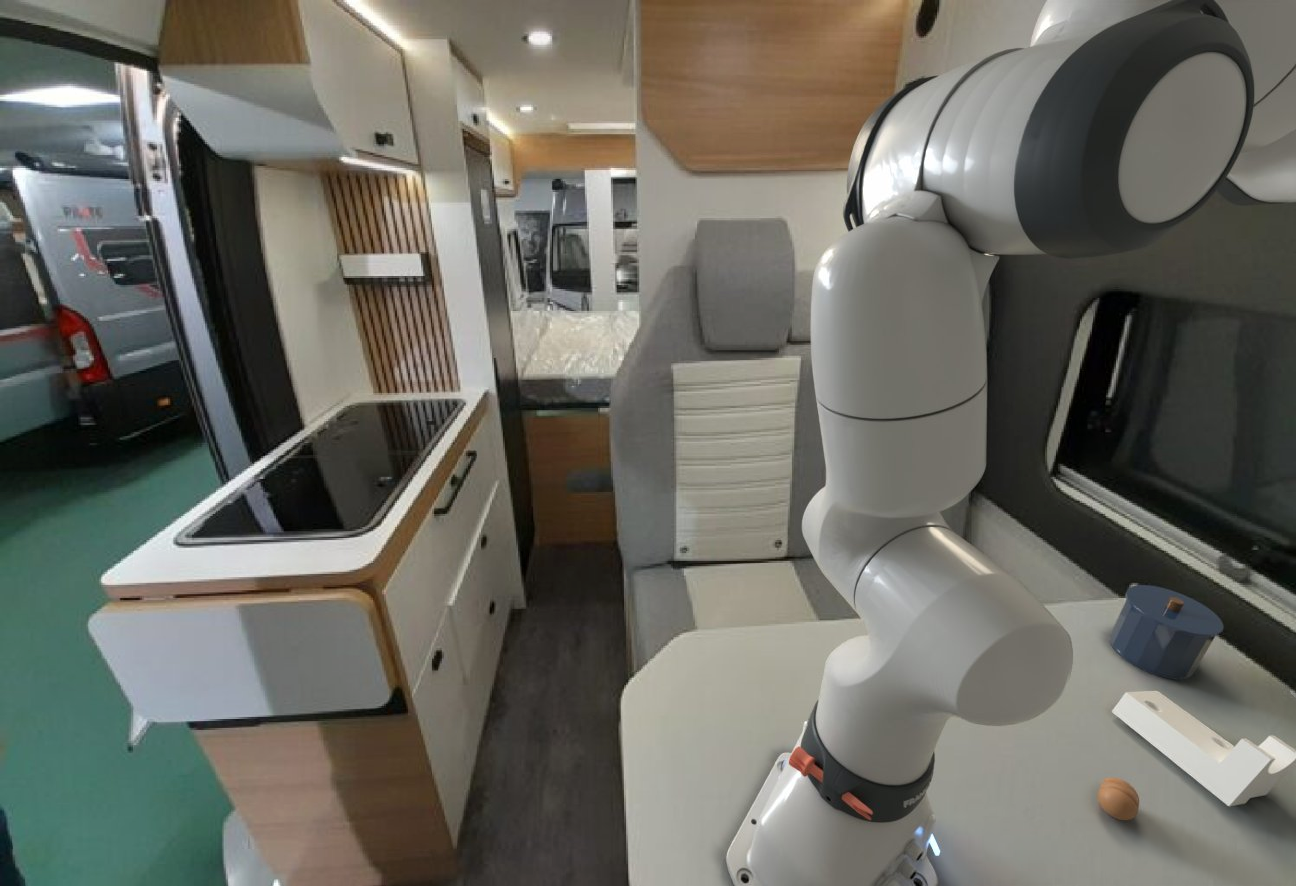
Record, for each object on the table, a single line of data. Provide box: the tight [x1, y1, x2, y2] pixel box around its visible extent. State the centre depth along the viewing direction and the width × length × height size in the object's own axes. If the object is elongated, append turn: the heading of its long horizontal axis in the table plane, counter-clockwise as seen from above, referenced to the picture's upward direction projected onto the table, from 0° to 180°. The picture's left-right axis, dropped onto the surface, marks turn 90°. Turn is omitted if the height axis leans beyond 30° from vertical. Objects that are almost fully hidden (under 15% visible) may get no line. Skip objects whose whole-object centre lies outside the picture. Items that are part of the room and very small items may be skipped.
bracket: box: [1111, 690, 1296, 807], centre depth 67 cm, size 13×7×8 cm, turn 16°
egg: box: [1097, 777, 1140, 821], centre depth 61 cm, size 5×3×3 cm
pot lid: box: [1125, 584, 1224, 637], centre depth 80 cm, size 11×11×3 cm
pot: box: [1108, 598, 1216, 680], centre depth 82 cm, size 10×10×8 cm
